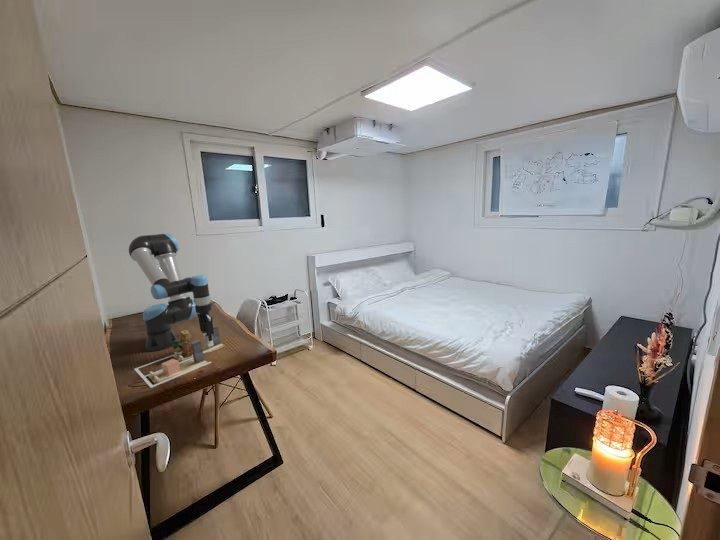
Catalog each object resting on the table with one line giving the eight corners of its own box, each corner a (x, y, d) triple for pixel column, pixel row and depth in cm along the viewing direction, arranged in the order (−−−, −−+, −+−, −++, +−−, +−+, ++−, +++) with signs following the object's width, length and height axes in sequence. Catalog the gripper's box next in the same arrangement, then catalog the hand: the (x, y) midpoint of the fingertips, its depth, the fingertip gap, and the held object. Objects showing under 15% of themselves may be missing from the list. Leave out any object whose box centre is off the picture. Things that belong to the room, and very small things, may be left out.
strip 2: (173, 357, 151) (169, 338, 148) (215, 342, 167) (212, 324, 165) (180, 363, 144) (176, 343, 141) (224, 346, 160) (221, 328, 158)
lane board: (134, 371, 139) (133, 368, 139) (190, 350, 158) (190, 348, 158) (151, 390, 122) (150, 387, 122) (211, 364, 141) (211, 362, 141)
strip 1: (148, 378, 132) (143, 356, 130) (199, 358, 148) (195, 338, 146) (156, 386, 125) (151, 363, 123) (208, 364, 141) (204, 343, 139)
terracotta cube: (163, 373, 133) (161, 363, 132) (174, 368, 138) (172, 358, 137) (169, 376, 131) (167, 365, 130) (180, 370, 135) (178, 360, 134)
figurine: (194, 353, 155) (190, 326, 153) (195, 358, 149) (192, 330, 147) (173, 358, 150) (170, 330, 147) (174, 363, 144) (171, 334, 141)
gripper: (189, 303, 157) (195, 343, 161) (201, 308, 146) (208, 351, 150) (203, 300, 163) (209, 339, 167) (216, 304, 152) (223, 346, 156)
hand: (209, 344), depth 159 cm, fingers open, 4 cm apart
